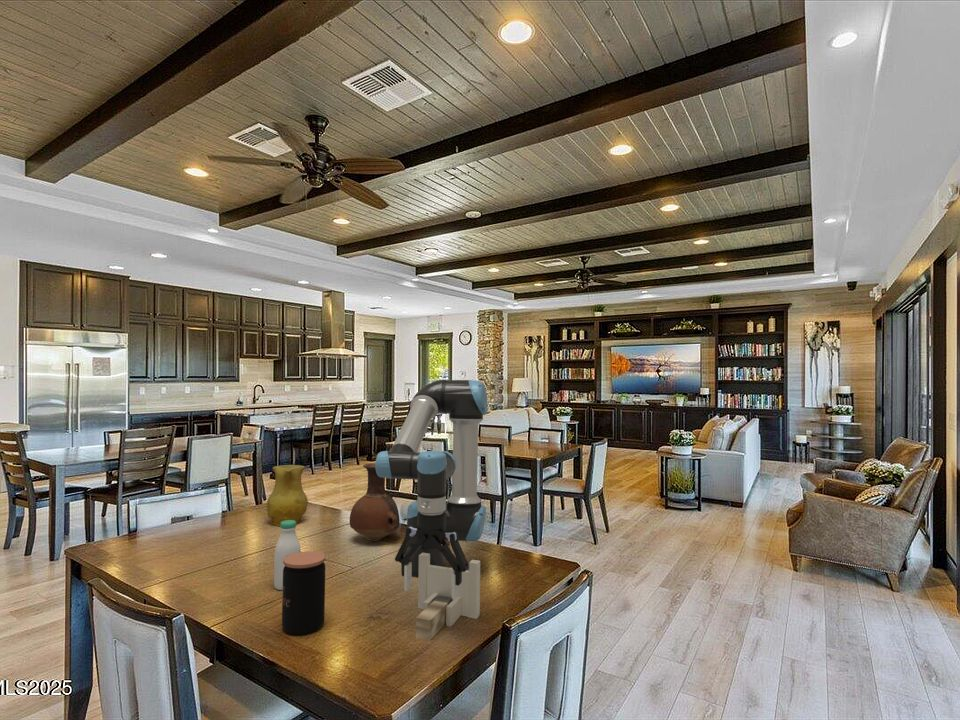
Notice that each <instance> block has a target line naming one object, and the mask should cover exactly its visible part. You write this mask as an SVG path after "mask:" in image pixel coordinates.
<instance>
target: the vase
mask: <svg viewBox="0 0 960 720" xmlns="http://www.w3.org/2000/svg"><path fill="white" fill-rule="evenodd" d="M375 463H376V462H375ZM375 463H364V464H363V465H362V466H363V468H365V469H366V471H367V490H366V493H365V494H364V495H362V496H361V497H360V498H359V499H357V500H356V502H354V504H353V506H352V507H351V511H350V515H349V526H350V528H351V529H352V530H353V531H355V532H356V533H358V534H359V535H361V536H362V537H363V538H366V539H367V540H370V541H372V542H378V541H381V539H383V538H384V537H386V536H389V535H390V534H392V533H394V532H395V531H397V530H398V529H399V527H400V514H399V508H398V506H397V504H396V501H395V499H394V496H393V495H392V494H391V493H390V492H388V493H387V492H386V485H385V484H386V483H385V482H386V478H382V477H379V476H378V475H377V473H376V468H375Z"/></svg>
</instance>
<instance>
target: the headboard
mask: <svg viewBox="0 0 960 720" xmlns="http://www.w3.org/2000/svg"><path fill="white" fill-rule="evenodd" d="M468 565H469V568H468V569H467V570H466V571H465V572H462V582H461V584H460V585H458V596H457V597H456V598H455V599H453V601H452V602H451V603H450V604H449V605H448V606H447V607H446V624H445V626H446V627H452V626H453V625H454V624H455V622H457V620H459V619H460V617H461V616H462V617H467V618H469V619H474V620H477V619H479V617H480V615H481V614H480V613H481V609H480V608H481V605H480V603H481V560H476V559H471V560H470V561H469V562H468ZM453 572H454V570H453V569H452V567H447V566H446V567H441V566H435V565H430V554H428V553H421V554H420V555H419V577H418V579H417V580H418V581H417V582H418V585H417V586H418V590H417V592H418V593H417V594H418V595H417V609H421V610H422V612H423V611H424V610H425V609H426V608H427V607H428V606H429V605H430V604H431V603H432V602H433V601H434V599H435V598H436V597H437V596H445V597H451V598H452V573H453Z"/></svg>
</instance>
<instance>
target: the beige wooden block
mask: <svg viewBox="0 0 960 720" xmlns="http://www.w3.org/2000/svg"><path fill="white" fill-rule="evenodd" d="M452 601H453V599H452V598H451V597H445V596H437V597H436V598H435V599H434V601H433V602H432V603H431V604H430V605H429V606H428V607H427V608H426V609H425V610H424V611H423V610H422V611H421V612H420V613H419V614H418V615H417V616H416V617H415V638H417V639H422V640H427V641H431V640H432V639H433V638H434V637H435V636H436V635H437V634H438V632H439V631H440V630H441V629H442V628H443V627H444V626H446V607H447V606H448V605H449V604H450V603H451V602H452Z"/></svg>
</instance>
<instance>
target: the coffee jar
mask: <svg viewBox="0 0 960 720" xmlns="http://www.w3.org/2000/svg"><path fill="white" fill-rule="evenodd" d="M325 561H326V554H324V553H323V552H321V551H316V550H315V551H314V550H306V551H303V550H302V551H301V552H297V553H293V554H290V555H288V556H286V557H285V558H284V560H283V564H284V565H285V567H284V569H283V590H282V593H281V594H282V597H281V598H282V599H281V601H282V602H281V604H282V605H281V627H282V629H283V630H284V631H285V633H287V634H288V635H292V636H304V635H308V634H312V633H315V632H317V631H318V630H319V629H320V628H321V627H322V626H323V624H324V623H325V615H326V614H325V613H326V612H325V611H326V610H325V606H326V605H325V604H326V602H325V601H326V600H325V598H326V596H325V595H326V564H325V563H324V562H325Z"/></svg>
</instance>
